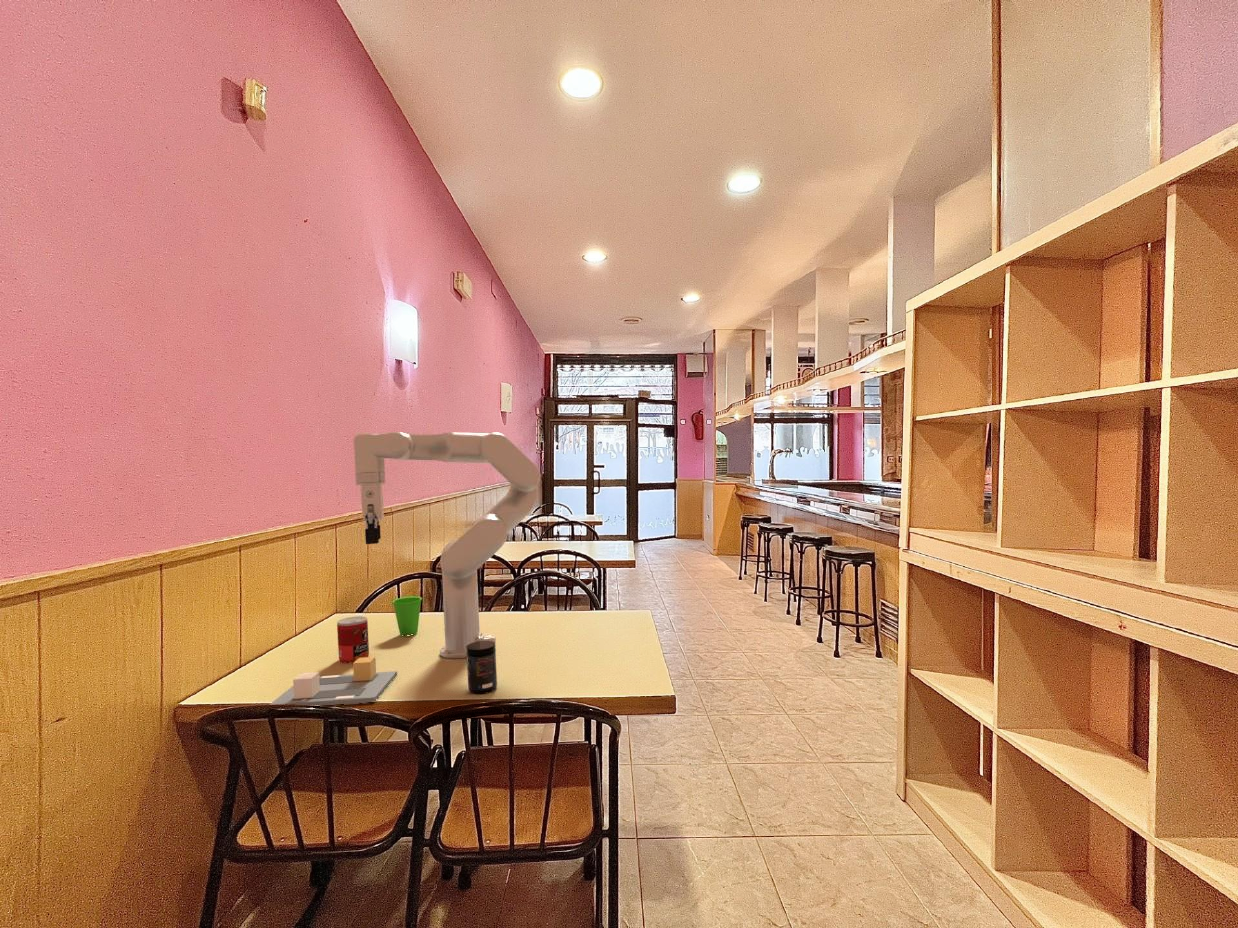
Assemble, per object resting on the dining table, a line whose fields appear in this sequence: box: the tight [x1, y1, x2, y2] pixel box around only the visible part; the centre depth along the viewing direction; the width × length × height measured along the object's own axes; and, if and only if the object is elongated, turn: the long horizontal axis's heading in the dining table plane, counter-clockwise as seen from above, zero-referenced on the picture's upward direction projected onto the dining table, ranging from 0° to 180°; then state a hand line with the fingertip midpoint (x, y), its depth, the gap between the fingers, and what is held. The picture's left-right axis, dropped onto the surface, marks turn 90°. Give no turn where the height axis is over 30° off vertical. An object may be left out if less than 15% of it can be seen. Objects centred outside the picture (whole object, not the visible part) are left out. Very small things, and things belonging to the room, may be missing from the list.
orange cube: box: [352, 656, 377, 681], centre depth 148 cm, size 4×4×4 cm
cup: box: [391, 596, 423, 637], centre depth 191 cm, size 9×9×11 cm
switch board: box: [269, 670, 398, 706], centre depth 144 cm, size 23×17×1 cm
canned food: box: [336, 615, 370, 664], centre depth 168 cm, size 8×8×11 cm
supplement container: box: [466, 641, 498, 695], centre depth 141 cm, size 7×7×10 cm
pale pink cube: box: [292, 671, 320, 699], centre depth 139 cm, size 4×4×4 cm
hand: (373, 541), depth 165 cm, fingers open, 9 cm apart
